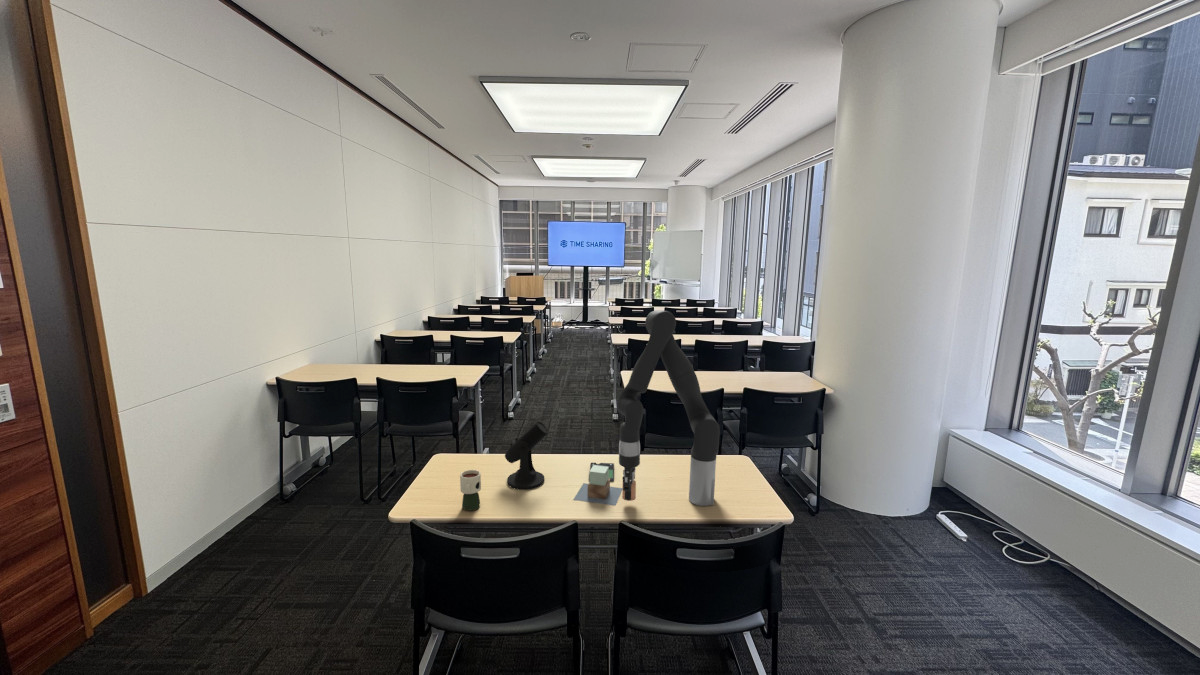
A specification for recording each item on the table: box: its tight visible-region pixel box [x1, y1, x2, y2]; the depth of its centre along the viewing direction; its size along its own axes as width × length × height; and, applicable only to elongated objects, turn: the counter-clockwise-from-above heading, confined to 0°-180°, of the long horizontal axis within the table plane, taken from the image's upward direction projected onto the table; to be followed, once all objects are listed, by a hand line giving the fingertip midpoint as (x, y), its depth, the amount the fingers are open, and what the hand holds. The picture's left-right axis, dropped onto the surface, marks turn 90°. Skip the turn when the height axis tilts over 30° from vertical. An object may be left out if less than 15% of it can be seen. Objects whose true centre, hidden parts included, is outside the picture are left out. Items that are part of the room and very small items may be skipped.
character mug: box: [459, 469, 482, 511], centre depth 173 cm, size 11×7×13 cm, turn 4°
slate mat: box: [573, 482, 623, 507], centre depth 185 cm, size 16×14×1 cm
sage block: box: [588, 465, 609, 486], centre depth 183 cm, size 6×6×5 cm
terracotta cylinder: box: [621, 479, 637, 502], centre depth 176 cm, size 5×5×6 cm
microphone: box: [504, 421, 549, 491], centre depth 194 cm, size 15×17×25 cm
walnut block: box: [587, 478, 611, 499], centre depth 184 cm, size 7×7×5 cm
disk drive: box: [589, 462, 615, 482], centre depth 203 cm, size 10×3×15 cm
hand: (629, 495), depth 176 cm, fingers closed on terracotta cylinder, 4 cm apart
